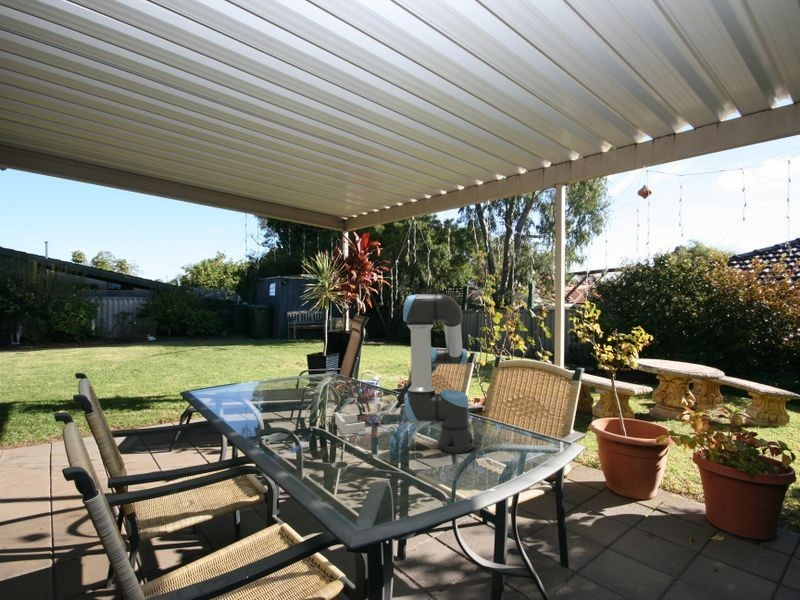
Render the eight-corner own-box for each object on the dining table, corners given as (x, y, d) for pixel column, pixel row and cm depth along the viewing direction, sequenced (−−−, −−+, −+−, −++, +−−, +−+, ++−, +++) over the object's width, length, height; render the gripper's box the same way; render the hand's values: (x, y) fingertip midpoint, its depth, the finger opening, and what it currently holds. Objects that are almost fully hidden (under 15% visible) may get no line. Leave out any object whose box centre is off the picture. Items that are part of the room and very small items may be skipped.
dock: (368, 434, 197) (367, 421, 197) (345, 438, 194) (344, 425, 193) (354, 418, 222) (353, 407, 222) (333, 421, 218) (333, 409, 218)
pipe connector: (388, 426, 208) (388, 406, 207) (368, 426, 208) (367, 406, 208) (389, 419, 218) (389, 400, 217) (370, 420, 218) (369, 401, 218)
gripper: (430, 383, 216) (400, 420, 211) (420, 378, 228) (392, 413, 223) (420, 374, 213) (390, 411, 208) (411, 369, 226) (382, 404, 221)
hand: (391, 412), depth 216 cm, fingers closed
